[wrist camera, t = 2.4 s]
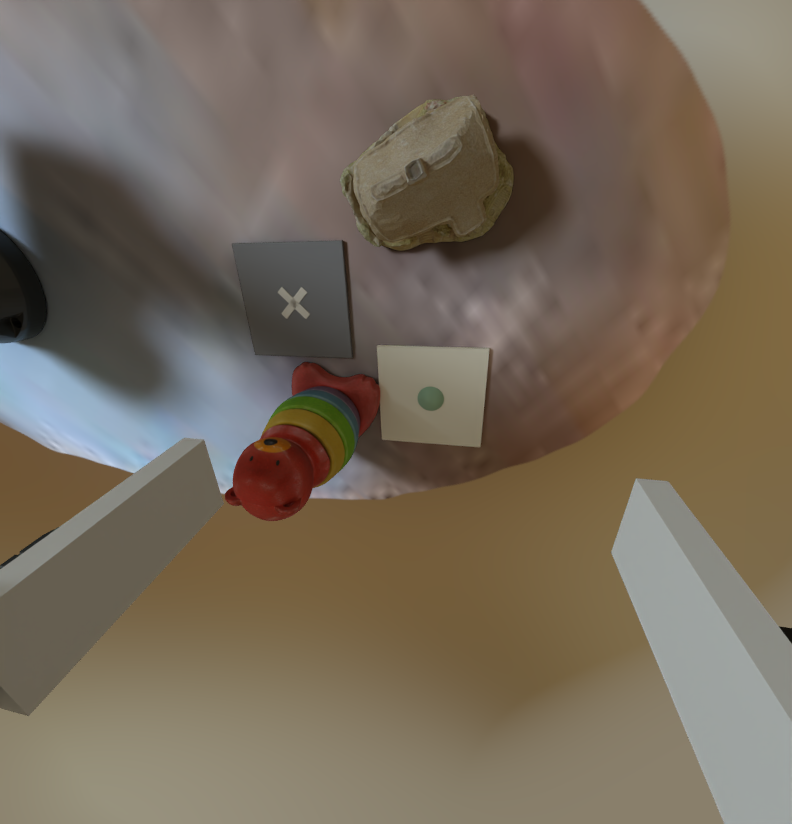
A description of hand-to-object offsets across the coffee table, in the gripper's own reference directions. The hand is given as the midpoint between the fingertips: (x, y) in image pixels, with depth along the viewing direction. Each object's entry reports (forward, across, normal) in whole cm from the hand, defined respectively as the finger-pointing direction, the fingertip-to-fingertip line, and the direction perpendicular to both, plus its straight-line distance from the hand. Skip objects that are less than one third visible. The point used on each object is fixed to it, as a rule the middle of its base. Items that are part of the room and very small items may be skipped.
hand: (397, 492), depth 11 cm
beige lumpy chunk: (+29, -3, +11) cm, 31 cm away
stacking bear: (+29, -14, -12) cm, 34 cm away
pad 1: (+29, -17, +1) cm, 34 cm away
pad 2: (+29, -2, -10) cm, 31 cm away
